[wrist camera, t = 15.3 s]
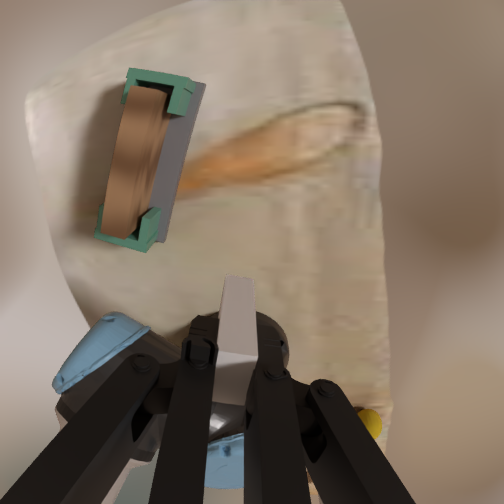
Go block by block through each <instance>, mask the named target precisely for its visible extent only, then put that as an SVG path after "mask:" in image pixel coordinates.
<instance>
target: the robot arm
mask: <svg viewBox="0 0 504 504" xmlns="http://www.w3.org/2000/svg"><path fill="white" fill-rule="evenodd" d="M150 329H151V327H149V326H144V325H143V324H141V323H139V322H137V321H136V320H134V319H132V318H130V317H129V316H127V315H125V314H123V313H121V312H110V313H108V314H106V315H104V316H103V317H102V318H101V319H100V320H99V321H98V322H97V323H96V324H95V325H94V326H93V327H92V328H91V329H90V330H89V332H88V333H87V334H86V335H85V336H84V338H83V339H82V340H81V341H80V342H79V344H78V345H77V346H76V347H75V349H74V350H73V351H72V353H71V354H70V355H69V357H68V358H67V359H66V361H65V362H64V364H63V365H62V367H61V368H60V370H59V372H58V374H57V375H56V376H55V378H54V379H53V382H52V387H53V388H54V389H55V391H56V393H58V394H61V397H60V399H59V401H58V403H57V405H56V407H55V412H56V415H57V418H58V421H59V423H60V431H59V433H58V434H57V435H56V436H55V438H54V439H53V440H52V441H51V442H50V443H49V444H48V446H47V447H46V448H45V449H44V450H43V451H42V452H41V453H40V455H39V456H38V457H37V458H36V459H35V460H34V461H33V463H32V464H31V465H30V466H29V467H28V468H27V470H26V471H25V472H24V473H23V474H22V475H21V476H20V478H19V479H18V480H17V481H16V482H15V483H14V485H13V486H12V487H11V488H10V489H9V490H8V492H7V493H6V494H5V495H4V496H3V498H2V499H1V500H0V504H113V503H114V501H115V499H116V497H117V495H118V493H119V491H120V489H121V487H122V485H123V483H124V481H125V479H126V477H127V475H128V473H129V471H130V469H132V468H134V467H138V466H142V465H146V464H149V463H150V462H151V460H152V458H153V456H154V454H155V452H156V451H157V449H160V450H159V454H158V459H157V464H156V468H155V473H154V478H153V483H152V488H151V493H150V498H149V503H148V504H203V496H204V486H205V487H210V488H217V489H238V488H244V504H311V499H310V492H309V485H308V479H307V472H306V468H307V470H308V472H309V474H310V476H311V479H312V481H313V483H314V485H315V487H316V489H317V491H318V494H319V496H320V498H321V500H322V502H323V504H416V503H415V502H414V500H413V499H412V498H411V496H410V494H409V493H408V491H407V489H406V488H405V486H404V485H403V483H402V482H401V480H400V479H399V477H398V476H397V474H396V472H395V471H394V470H393V468H392V466H391V465H390V463H389V462H388V460H387V459H386V457H385V456H384V454H383V453H382V451H381V449H380V448H379V446H378V445H377V443H376V442H375V440H374V439H373V437H372V436H371V434H370V433H369V431H368V430H367V428H366V426H365V425H364V423H363V422H362V420H361V419H360V417H359V416H358V414H357V413H356V411H355V410H354V408H353V406H352V405H351V403H350V402H349V400H348V399H347V397H346V396H345V394H344V393H343V391H342V390H341V388H340V387H339V386H338V385H337V384H335V383H334V382H332V381H329V380H326V379H318V380H315V381H313V382H312V383H311V384H310V385H307V384H304V383H301V382H298V381H296V380H294V379H292V378H291V375H290V373H289V371H288V370H287V369H286V368H287V365H288V361H289V347H288V341H287V337H286V335H285V333H284V331H283V329H282V328H281V327H280V326H279V324H278V323H276V322H275V321H274V320H273V319H271V318H270V317H268V316H266V315H264V314H262V313H259V312H256V309H255V292H254V279H252V278H246V277H240V276H235V275H229V274H226V277H225V283H224V288H223V293H222V299H221V304H220V310H219V313H216V314H214V315H212V316H210V317H206V316H200V315H198V316H197V317H195V318H194V319H193V320H192V323H191V327H190V331H189V335H188V337H187V338H185V339H184V341H183V342H182V348H180V347H178V346H176V345H175V344H173V343H171V342H169V341H168V340H166V339H164V338H163V337H161V336H160V335H158V334H156V333H155V332H153V331H152V330H150Z"/></svg>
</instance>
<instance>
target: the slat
mask: <svg viewBox="0 0 504 504" xmlns="http://www.w3.org/2000/svg"><path fill="white" fill-rule="evenodd" d="M171 96H172V95H169V94H167V93H165V92H162V91H160V90H156V89H151V88H145V87H139V86H133V85H131V86H130V89H129V93H128V96H127V100H126V103H125V107H124V111H123V115H122V119H121V123H120V127H119V131H118V135H117V140H116V144H115V149H114V154H113V158H112V163H111V168H110V174H109V179H108V185H107V191H106V197H105V203H104V210H103V217H102V224H101V232H100V233H103V234H106V235H110V236H113V237H117V238H120V239H123V240H125V239H126V238H127V237H128V236H129V235H130V234H131V233H132V232H133V231H134V230H135V229H136V228H137V227H139V226H140V225H141V222H142V217H143V216H144V215H145V214H146V213H148V208H149V203H150V198H151V193H152V189H153V184H154V180H155V175H156V171H157V167H158V162H159V158H160V154H161V150H162V146H163V142H164V138H165V135H166V131H167V127H168V124H169V120H170V116H171V113H167V110H168V107H169V103H170V100H171Z"/></svg>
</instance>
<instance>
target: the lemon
mask: <svg viewBox="0 0 504 504" xmlns="http://www.w3.org/2000/svg"><path fill="white" fill-rule="evenodd" d="M357 414H358V416H359V417H360V419H361V420H362V422H363V423H364V425H365V426H366V428H367V430H368V431H369V433H370V434H371V436H372V437H373V439H376V438H377V437H378V436H379V435H380V433H381V431H382V421H381V418H380V416H379V414H378V413H377V412H376V411H374V410H372V409H363V410H361V411H360V412H358V413H357Z"/></svg>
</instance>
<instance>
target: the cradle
mask: <svg viewBox="0 0 504 504" xmlns="http://www.w3.org/2000/svg"><path fill="white" fill-rule="evenodd" d="M126 78H127V82H126V85H125V89H124V92H123V96H122V99H121V104H125V103H126V100H127V96H128V93H129V89H130V86H131V85H133V86H139V87H145V88H151V89H156V90H160V91H162V92H165V93H167V94H169V95H172V96H171V100H170V103H169V107H168V110H167V113H171V116H170V120H169V124H168V127H167V131H166V135H165V138H164V142H163V146H162V150H161V154H160V158H159V162H158V167H157V171H156V175H155V180H154V184H153V189H152V193H151V198H150V203H149V208H148V213H146V214H145V215H144V216H143V217H142V222H141V225H140V226H139V227H137V228H136V229H135V230H134V231H133V232H132V233H131V234H130V235H129V236H128V237H127V238H126V239H125V240H123V239H120V238H117V237H113V236H110V235H106V234H103V233H100V232H101V224H102V217H103V210H104V203H103V204H101V205H100V206H99V213H98V221H97V228H95V234H94V238H97V239H100V240H103V241H107V242H110V243H113V244H117V245H120V246H123V247H127V248H130V249H134V250H137V251H140V252H144V253H146V252H147V251H148V250H149V248H150V247H151V246H152V245H153V243H154V242H155V241H158V242H161V243H164V242H165V240H166V236H167V232H168V227H169V223H170V218H171V214H172V209H173V205H174V201H175V196H176V192H177V188H178V184H179V180H180V176H181V172H182V168H183V164H184V160H185V156H186V153H187V149H188V145H189V142H190V138H191V134H192V131H193V127H194V124H195V120H196V117H197V114H198V110H199V107H200V104H201V100H202V97H203V94H204V91H205V87H206V84H204V83H200V82H195V81H192V80H191V79H190V78H188V77H183V76H178V75H172V74H167V73H161V72H155V71H149V70H143V69H136V68H129V70H128V73H127V76H126Z"/></svg>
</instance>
